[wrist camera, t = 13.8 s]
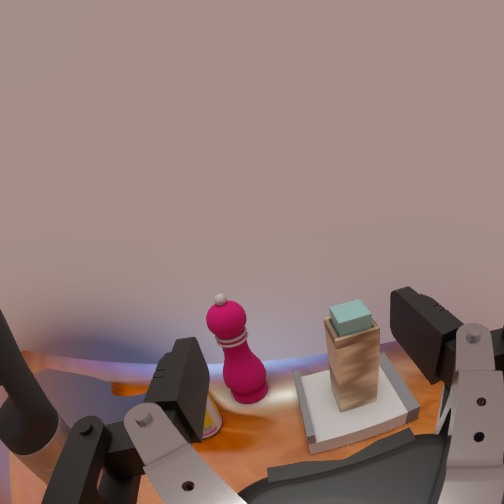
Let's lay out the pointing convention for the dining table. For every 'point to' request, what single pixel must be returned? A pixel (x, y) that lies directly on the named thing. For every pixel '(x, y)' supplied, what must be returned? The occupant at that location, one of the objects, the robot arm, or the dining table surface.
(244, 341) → the pepper mill
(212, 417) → the supplement bottle
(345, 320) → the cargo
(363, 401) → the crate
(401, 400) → the dock
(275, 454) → the dining table surface
